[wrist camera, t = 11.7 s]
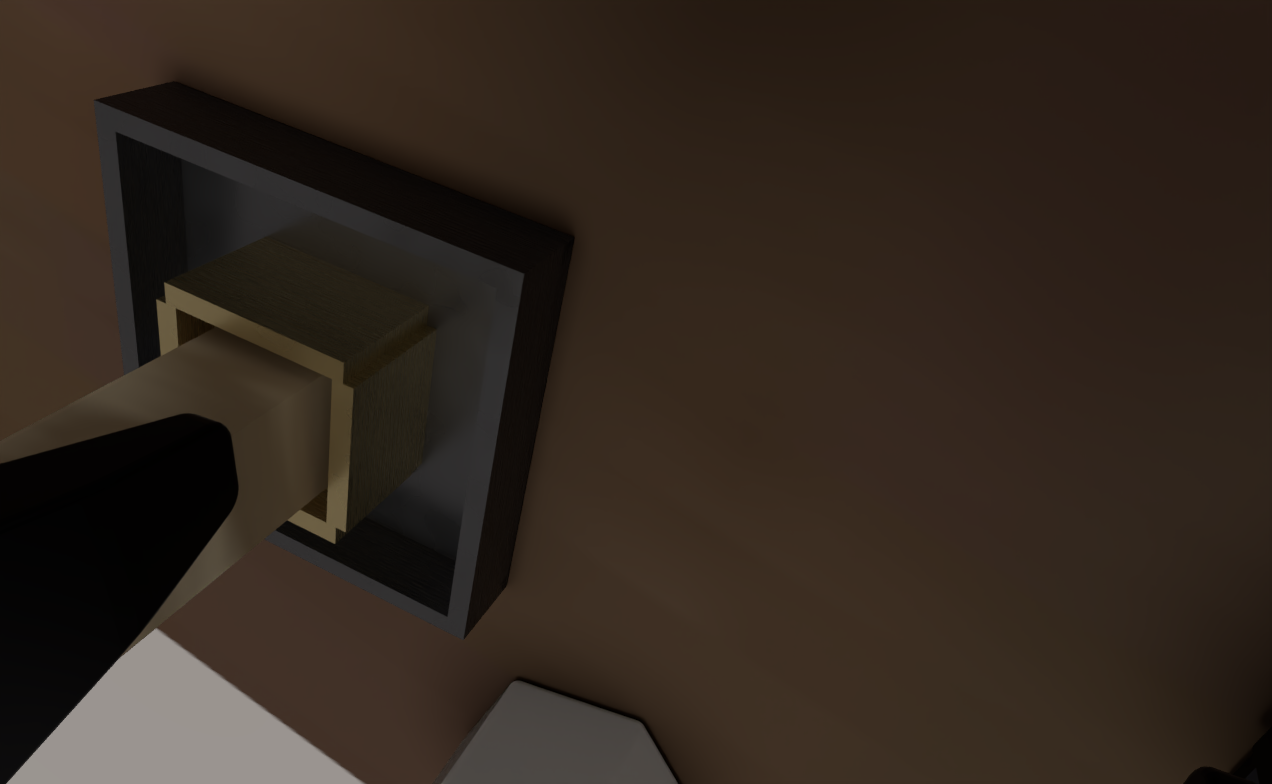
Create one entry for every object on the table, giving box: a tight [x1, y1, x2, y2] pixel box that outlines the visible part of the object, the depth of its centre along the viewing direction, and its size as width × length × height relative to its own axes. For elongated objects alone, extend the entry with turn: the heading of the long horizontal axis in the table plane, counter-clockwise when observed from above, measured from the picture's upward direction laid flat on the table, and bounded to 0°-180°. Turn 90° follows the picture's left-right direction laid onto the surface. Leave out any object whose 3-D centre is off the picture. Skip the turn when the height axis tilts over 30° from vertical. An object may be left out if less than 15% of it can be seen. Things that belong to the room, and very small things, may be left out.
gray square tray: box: [94, 81, 574, 640], centre depth 25 cm, size 12×12×4 cm
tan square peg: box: [0, 327, 332, 655], centre depth 21 cm, size 4×4×13 cm
